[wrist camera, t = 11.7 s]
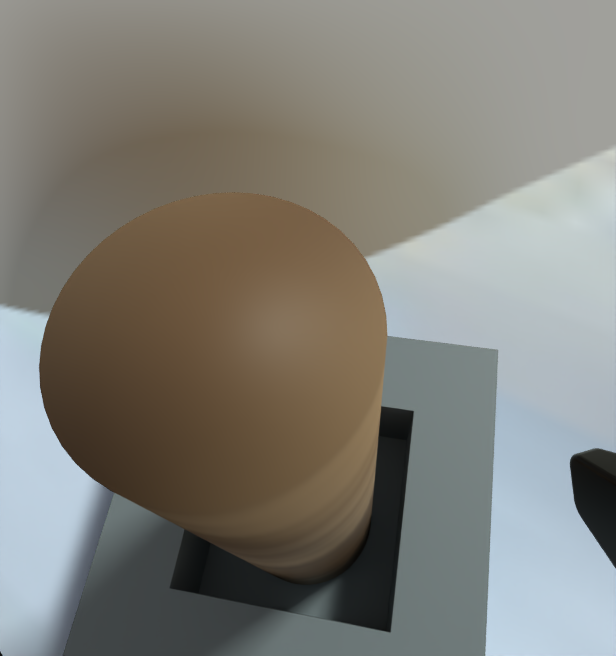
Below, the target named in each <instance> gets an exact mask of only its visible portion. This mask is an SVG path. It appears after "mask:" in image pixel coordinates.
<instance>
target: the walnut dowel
mask: <svg viewBox="0 0 616 656" xmlns="http://www.w3.org/2000/svg"><path fill="white" fill-rule="evenodd" d="M386 346H387V322H386V313H385V308H384V303H383V298H382V294H381V292H380V289H379V286H378V283H377V281H376V278H375V276H374V274H373V272H372V270H371V269H370V267H369V265H368V263H367V261H366V259H365V258H364V257H363V255H362V254H361V253H360V251H359V250H358V249H357V247H356V246H355V245H354V244H353V243H352V242H351V241H350V240H349V239H348V238H347V237H346V236H345V235H344V234H343V233H342V232H341V231H340V230H339V229H337V228H336V227H335V226H333V225H332V224H331V223H330V222H328V221H327V220H326V219H324V218H323V217H321V216H319V215H317V214H316V213H314V212H312V211H310V210H308V209H306V208H304V207H301V206H299V205H296V204H294V203H292V202H289V201H285V200H282V199H278V198H275V197H271V196H265V195H259V194H251V193H235V192H234V193H233V192H232V193H213V194H206V195H200V196H194V197H190V198H186V199H182V200H178V201H174V202H171V203H169V204H166V205H164V206H161V207H158V208H155V209H153V210H151V211H149V212H147V213H145V214H143V215H141V216H139V217H137V218H135V219H133V220H132V221H130V222H129V223H127V224H125V225H124V226H122V227H120V228H119V229H118V230H116V231H115V232H114V233H113V234H111V235H110V236H108V237H107V238H106V239H105V240H103V241H102V242H101V243H100V244H99V245H98V246H97V247H96V248H95V249H94V250H93V251H92V252H90V254H88V255H87V257H86V258H85V259H84V260H83V261H82V262H81V264H80V265H79V266H78V267H77V268H76V270H75V271H74V272H73V273H72V275H71V276H70V278H69V279H68V281H67V283H66V284H65V285H64V287H63V288H62V290H61V292H60V294H59V296H58V298H57V300H56V302H55V304H54V306H53V308H52V311H51V313H50V316H49V319H48V321H47V324H46V327H45V332H44V336H43V340H42V345H41V353H40V364H39V372H40V388H41V393H42V398H43V403H44V408H45V411H46V414H47V416H48V419H49V422H50V424H51V427H52V429H53V431H54V433H55V434H56V436H57V438H58V440H59V442H60V443H61V445H62V447H63V448H64V449H65V450H66V452H67V453H68V454H69V456H70V457H71V458H72V459H73V461H74V462H75V463H76V464H77V465H78V466H79V467H80V468H81V469H82V470H84V471H85V472H86V473H87V474H88V475H89V476H90V477H91V478H92V479H94V480H95V481H97V482H98V483H100V484H101V485H103V486H104V487H106V488H107V489H109V490H110V491H112V492H114V493H116V494H118V495H120V496H122V497H124V498H126V499H128V500H129V501H131V502H133V503H135V504H137V505H139V506H141V507H143V508H145V509H147V510H149V511H151V512H152V513H154V514H156V515H158V516H160V517H162V518H164V519H166V520H168V521H170V522H172V523H174V524H176V525H177V526H179V527H181V528H183V529H185V530H187V531H189V532H191V533H193V534H195V535H197V536H199V537H200V538H202V539H204V540H206V541H208V542H210V543H212V544H214V545H216V546H218V547H220V548H222V549H224V550H225V551H227V552H229V553H231V554H233V555H235V556H237V557H239V558H241V559H243V560H245V561H247V562H248V563H250V564H252V565H254V566H256V567H258V568H260V569H262V570H264V571H266V572H268V573H270V574H272V575H273V576H275V577H277V578H280V579H282V580H284V581H287V582H290V583H294V584H301V585H312V584H319V583H323V582H326V581H329V580H331V579H333V578H336V577H337V576H339V575H340V574H342V573H344V572H345V571H346V570H347V569H348V568H349V567H351V565H352V564H353V563H354V562H355V561H356V560H357V558H358V557H359V556H360V554H361V553H362V551H363V549H364V547H365V545H366V542H367V539H368V536H369V532H370V526H371V515H372V504H373V492H374V481H375V470H376V459H377V447H378V436H379V425H380V413H381V402H382V391H383V379H384V368H385V357H386Z"/></svg>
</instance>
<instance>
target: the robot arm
mask: <svg viewBox="0 0 616 656" xmlns="http://www.w3.org/2000/svg"><path fill="white" fill-rule="evenodd" d="M570 469H571V478H572V486H573V494H574V501H575V505H576V508H577V510H578V513H579V515H580V516H581V518H582V519H583V521H584V522H585V524H586V525H587V527H588V528H589V530H590V531H591V533H592V534H593V536H594V537H595V539H596V540H597V542H598V543H599V545H600V546H601V548H602V549H603V550H604V552H605V553H606V555H607V556H608V558H609V559H610V561H611V562H612V564H613V565H614V567H615V568H616V453H614V452H610V451H606V450H603V449H599V448H595V449H591V450H588V451H584V452H581V453H577V454H574V455H573V456H572V457H571V460H570ZM0 656H2V654H1V652H0Z"/></svg>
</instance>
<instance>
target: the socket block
mask: <svg viewBox="0 0 616 656" xmlns="http://www.w3.org/2000/svg"><path fill="white" fill-rule="evenodd" d="M497 364H498V350H495V349H487V348H479V347H471V346H463V345H455V344H447V343H439V342H431V341H423V340H415V339H407V338H399V337H391V336H387V346H386V357H385V368H384V379H383V391H382V402H381V413H380V425H379V436H378V447H377V459H376V470H375V481H374V492H373V504H372V515H371V526H370V532H369V536H368V539H367V542H366V545H365V547H364V549H363V551H362V553H361V554H360V556H359V557H358V558H357V560H356V561H355V562H354V563H353V564H352V565H351V567H349V568H348V569H347V570H346V571H345V572H344V573H342V574H340V575H339V576H337V577H336V578H333V579H331V580H329V581H326V582H323V583H319V584H312V585H301V584H294V583H290V582H287V581H284V580H282V579H280V578H277V577H275V576H273V575H272V574H270V573H268V572H266V571H264V570H262V569H260V568H258V567H256V566H254V565H252V564H250V563H248V562H247V561H245V560H243V559H241V558H239V557H237V556H235V555H233V554H231V553H229V552H227V551H225V550H224V549H222V548H220V547H218V546H216V545H214V544H212V543H210V542H208V541H206V540H204V539H202V538H200V537H199V536H197V535H195V534H193V533H191V532H189V531H187V530H185V529H183V528H181V527H179V526H177V525H176V524H174V523H172V522H170V521H168V520H166V519H164V518H162V517H160V516H158V515H156V514H154V513H152V512H151V511H149V510H147V509H145V508H143V507H141V506H139V505H137V504H135V503H133V502H131V501H129V500H128V499H126V498H124V497H122V496H120V495H118V494H116V493H114V495H113V498H112V501H111V504H110V507H109V510H108V514H107V517H106V520H105V523H104V526H103V529H102V533H101V536H100V539H99V542H98V545H97V548H96V552H95V555H94V558H93V561H92V564H91V567H90V571H89V574H88V577H87V580H86V583H85V586H84V590H83V593H82V596H81V599H80V602H79V606H78V609H77V612H76V615H75V618H74V621H73V625H72V628H71V631H70V634H69V637H68V640H67V644H66V647H65V650H64V653H63V656H485V646H486V623H487V599H488V576H489V552H490V529H491V505H492V482H493V458H494V435H495V411H496V388H497Z"/></svg>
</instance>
